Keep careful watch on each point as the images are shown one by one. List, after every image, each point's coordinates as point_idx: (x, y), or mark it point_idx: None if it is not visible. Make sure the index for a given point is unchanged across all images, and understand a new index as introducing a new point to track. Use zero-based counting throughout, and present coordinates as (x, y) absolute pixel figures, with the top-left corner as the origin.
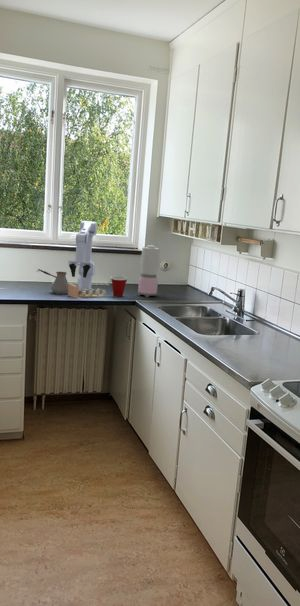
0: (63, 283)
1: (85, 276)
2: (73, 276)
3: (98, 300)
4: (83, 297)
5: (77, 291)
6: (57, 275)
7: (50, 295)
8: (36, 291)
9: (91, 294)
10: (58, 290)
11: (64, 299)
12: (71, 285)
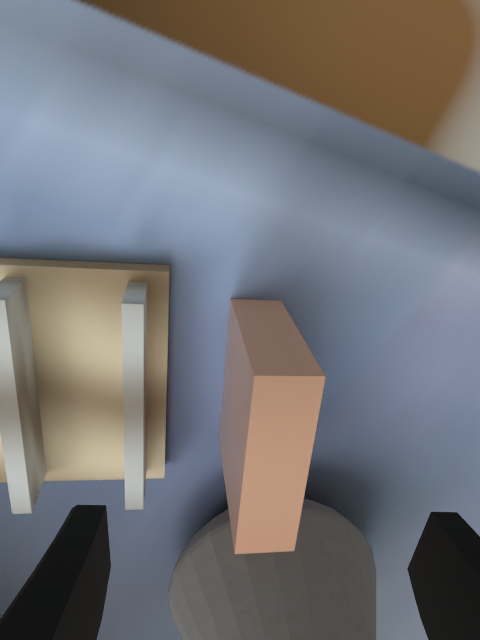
0: (314, 604)
1: (88, 525)
2: (462, 527)
3: (24, 28)
4: (169, 269)
5: (259, 334)
6: None
7: (427, 474)
8: (413, 621)
9: (20, 284)
10: (351, 523)
11: (446, 265)
12: (305, 477)
